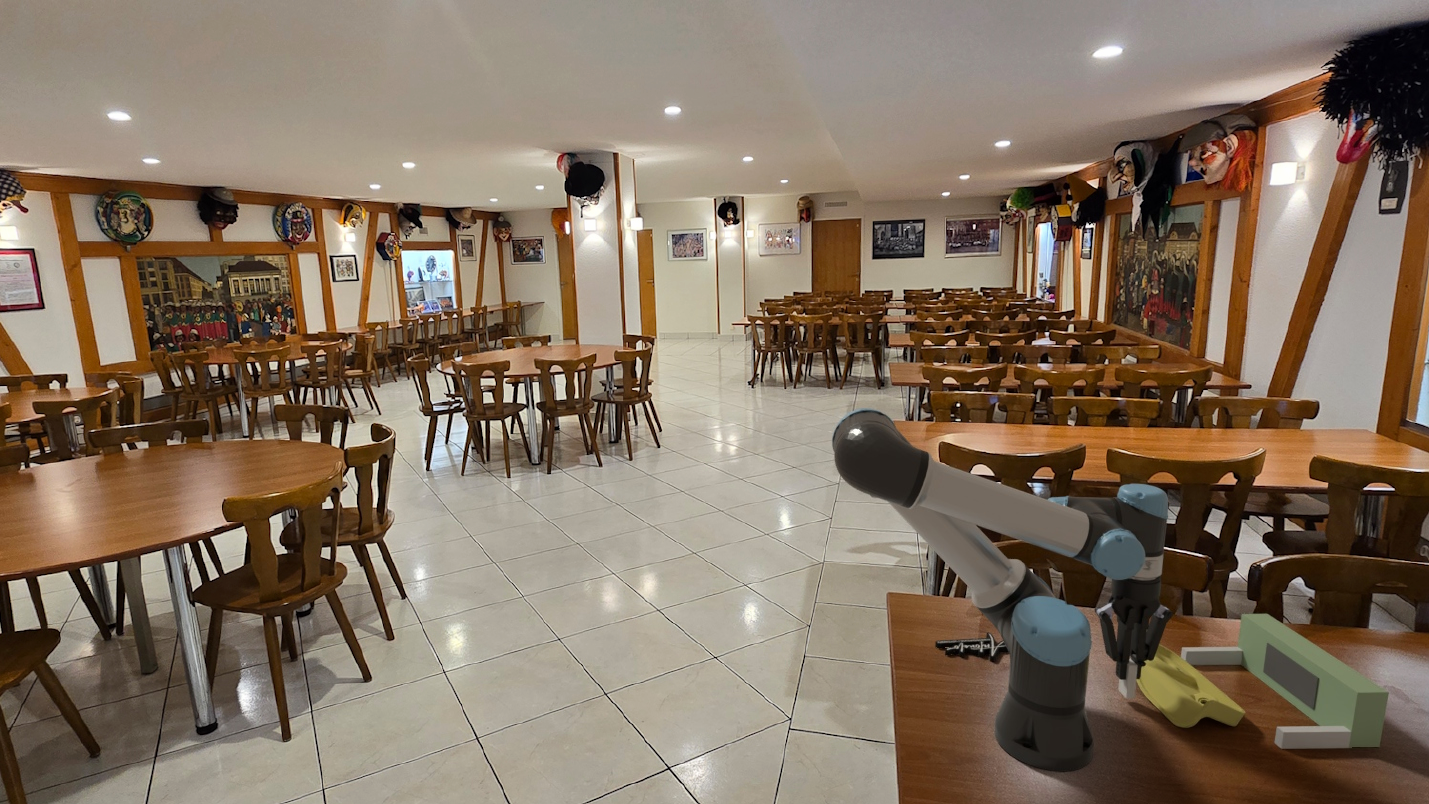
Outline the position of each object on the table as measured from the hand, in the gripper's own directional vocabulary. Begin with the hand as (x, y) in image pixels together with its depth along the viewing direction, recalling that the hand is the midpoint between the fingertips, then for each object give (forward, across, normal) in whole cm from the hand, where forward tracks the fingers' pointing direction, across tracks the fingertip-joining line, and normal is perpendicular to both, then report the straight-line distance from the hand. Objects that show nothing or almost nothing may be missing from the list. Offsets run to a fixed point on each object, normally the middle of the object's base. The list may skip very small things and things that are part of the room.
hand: (1126, 694), depth 135 cm
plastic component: (+2, +10, +1) cm, 11 cm away
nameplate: (+2, -15, +19) cm, 24 cm away
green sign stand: (+2, +26, 0) cm, 26 cm away
